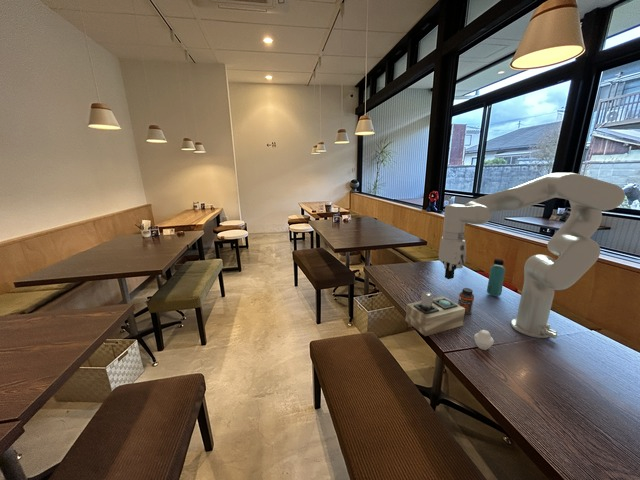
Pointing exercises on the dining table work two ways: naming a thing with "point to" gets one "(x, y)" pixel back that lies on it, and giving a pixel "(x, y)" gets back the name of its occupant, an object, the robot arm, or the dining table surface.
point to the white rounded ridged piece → (483, 339)
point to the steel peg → (426, 301)
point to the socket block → (435, 316)
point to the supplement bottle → (466, 300)
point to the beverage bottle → (496, 278)
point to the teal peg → (444, 303)
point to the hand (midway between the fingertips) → (449, 278)
